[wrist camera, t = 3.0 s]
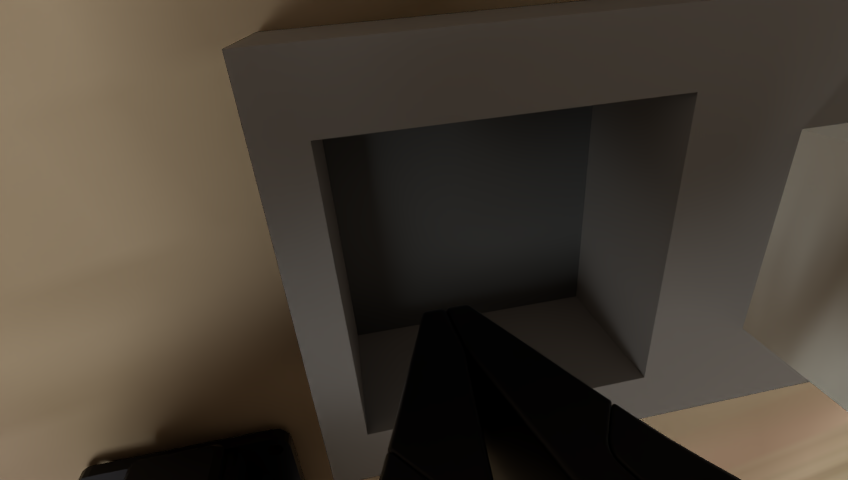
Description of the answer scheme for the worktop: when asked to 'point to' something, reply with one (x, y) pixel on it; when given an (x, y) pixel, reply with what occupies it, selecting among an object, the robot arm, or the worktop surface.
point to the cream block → (809, 266)
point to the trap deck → (535, 189)
